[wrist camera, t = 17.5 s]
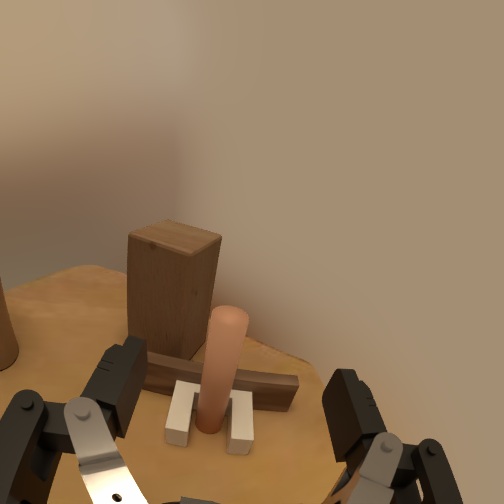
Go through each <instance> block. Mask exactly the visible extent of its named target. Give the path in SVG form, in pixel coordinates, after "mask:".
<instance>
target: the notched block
mask: <svg viewBox="0 0 504 504" xmlns="http://www.w3.org/2000/svg"><path fill="white" fill-rule="evenodd" d="M199 392H200V384H194V383H189V382H184V381H179V380H177V381H176V385H175V389H174V393H173V397H172V401H171V405H170V410H169V414H168V418H167V422H166V427H165V432H166V443H168V444H172V445H177V446H182V447H187V441H188V435H189V428H190V422H191V416H192V409H193V410H197V407H198V400H199ZM225 414H226V415H228V428H227V453H231V454H242V455H247V454H248V452H249V450H250V447H251V445H252V443H253V441H254V435H253V407H252V392H249V391H240V390H232V389H231V393H230V397H229V401H228V405H227V408H226V412H225Z"/></svg>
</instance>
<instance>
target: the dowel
mask: <svg viewBox="0 0 504 504" xmlns="http://www.w3.org/2000/svg"><path fill="white" fill-rule="evenodd" d="M248 323H249V316H248V314H247V313H246V312H245V311H243V310H241V309H239V308H237V307H234V306H219V307H216V308H215V309H214V310H213V311H212V315H211V321H210V327H209V333H208V339H207V346H206V352H205V359H204V365H203V372H202V379H201V385H200V392H199V400H198V407H197V414H196V421H195V423H196V426H197V428H198V429H199V430H200V431H202V432H204V433H207V434H214V433H217V432H218V431H219V430H220V429H221V427H222V424H223V420H224V416H225V412H226V408H227V405H228V401H229V397H230V393H231V389H232V385H233V382H234V378H235V374H236V370H237V366H238V362H239V358H240V354H241V350H242V346H243V343H244V339H245V335H246V331H247V327H248Z"/></svg>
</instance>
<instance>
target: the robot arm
mask: <svg viewBox="0 0 504 504" xmlns="http://www.w3.org/2000/svg"><path fill="white" fill-rule="evenodd" d="M17 355H18V344H17V341H16V338H15V335H14V332H13V328H12V324H11V321H10V317H9V314H8V310H7V306H6V302H5V297H4V293H3V288H2V283H1V278H0V370H2V369H5V368H7V367H9V366H10V365H11V364H12V363H13V362H14V361H15V359H16V357H17ZM147 369H148V358H147V340H146V339H142V338H138V337H134V336H131V335H129V336H128V337H127V339H126V341H125V342H124V344H123V346H121V345H117V344H114V345H113V346H112V347H110V348H109V349H107V350H106V351H105V353H104V355H103V357H102V358H101V361H100V362H99V364H98V365H97V368H96V369H95V371H94V372H93V374H92V376H91V378H90V380H89V381H88V383H87V385H86V387H85V389H84V391H83V392H82V394H81V396H80V397H77V398H73V399H71V400H70V401H69V402H68V403H54V402H47V401H43V399H42V397H41V396H40V395H39V394H38V393H37V392H35V391H33V390H22V391H19V392H18V393H16V394H15V395H14V397H13V398H12V400H11V402H10V404H9V405H8V407H7V409H6V411H5V413H4V414H3V416H2V418H1V420H0V504H47V500H48V496H49V493H50V489H51V486H52V483H53V480H54V476H55V473H56V470H57V467H58V464H59V461H60V458H61V455H62V452H63V453H71V454H76V455H77V458H78V461H79V469H80V472H81V475H82V478H83V480H84V482H85V485H86V487H87V489H88V492H89V494H90V496H91V498H92V500H93V503H94V504H148V503H147V502H146V500H145V499H144V497H143V495H142V494H141V492H140V490H139V488H138V487H137V485H136V483H135V481H134V480H133V478H132V476H131V474H130V472H129V470H128V468H127V466H126V464H125V462H124V460H123V459H122V457H121V455H120V454H119V452H118V449H117V447H116V445H115V443H114V442H115V439H116V436H117V437H120V438H125V435H126V432H127V429H128V426H129V423H130V420H131V417H132V414H133V412H134V409H135V406H136V403H137V400H138V398H139V395H140V392H141V389H142V387H143V384H144V381H145V378H146V375H147ZM322 404H323V408H324V412H325V416H326V421H327V425H328V429H329V433H330V437H331V441H332V446H333V450H334V454H335V459H336V462H346V464H347V466H346V467H345V468H344V470H343V472H342V473H341V475H340V477H339V478H338V480H337V482H336V483H335V485H334V487H333V488H332V490H331V491H330V493H329V494H328V496H327V498H326V499H325V500H324V501H323V502H322V503H321V504H463V502H462V498H461V495H460V492H459V490H458V487H457V484H456V481H455V478H454V476H453V473H452V470H451V468H450V465H449V463H448V460H447V458H446V455H445V453H444V451H443V448H442V446H441V444H439V442H437V441H436V440H434V439H425V440H423V441H422V442H421V443H420V444H419V445H409V444H403V443H402V442H401V440H400V439H399V438H398V437H397V436H396V435H394V434H392V433H388V432H387V430H386V427H385V425H384V422H383V420H382V417H381V415H380V412H379V410H378V407H376V403H375V400H374V399H373V395H372V393H371V391H370V388H369V387H368V386H367V385H366V384H365V383H364V382H363V381H359V379H358V377H357V374H356V372H355V370H353V369H336V371H335V372H334V374H333V375H332V377H331V379H330V381H329V383H328V385H327V386H326V388H325V390H324V392H323V396H322ZM417 479H419V481H420V484H421V488H422V491H423V496H424V497H423V501H421V497H420V494H419V490H418V487H417V484H416V480H417ZM163 504H219V503H216V502H213V501H206V500H199V499H192V498H186V497H181V501H180V502H168V503H163Z"/></svg>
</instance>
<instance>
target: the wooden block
mask: <svg viewBox="0 0 504 504" xmlns="http://www.w3.org/2000/svg"><path fill="white" fill-rule="evenodd" d="M221 240H222V236H221V235H220V234H217V233H213V232H210V231H206V230H203V229H199V228H196V227H192V226H189V225H185V224H182V223H178V222H175V221H171V220H165V221H162V222H159V223H156V224H153V225H150V226H147V227H144V228H141V229H138V230H135V231H133V232H130V233H129V235H128V257H127V316H128V336H129V335H131V336H134V337H138V338H142V339H146V340H147V351H148V352H152V353H156V354H161V355H165V356H170V357H174V358H179V359H184V360H190V358H191V357H192V356H193V355H194V354H195V352H196V351H197V350H198V349H199V347H200V346H201V345H202V344H203V343H204V341H205V340H206V333H207V326H208V320H209V313H210V306H211V300H212V293H213V288H214V281H215V275H216V269H217V263H218V257H219V252H220V246H221Z"/></svg>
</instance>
